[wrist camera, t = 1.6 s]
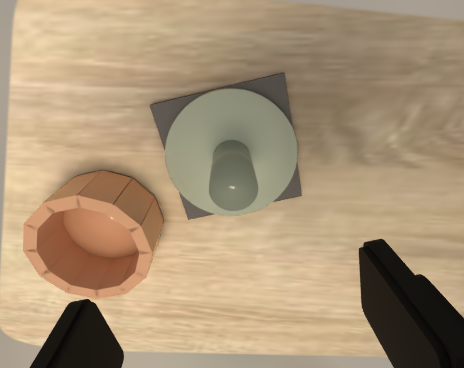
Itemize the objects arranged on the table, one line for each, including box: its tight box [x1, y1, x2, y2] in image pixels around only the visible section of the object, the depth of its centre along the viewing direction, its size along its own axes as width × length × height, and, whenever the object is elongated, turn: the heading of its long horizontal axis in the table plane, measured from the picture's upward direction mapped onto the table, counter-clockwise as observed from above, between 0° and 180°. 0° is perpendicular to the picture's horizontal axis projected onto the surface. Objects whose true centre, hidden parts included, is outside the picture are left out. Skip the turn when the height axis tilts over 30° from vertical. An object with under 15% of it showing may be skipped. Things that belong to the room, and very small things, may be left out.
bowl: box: [23, 170, 164, 299], centre depth 26 cm, size 10×10×5 cm
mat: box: [150, 73, 302, 220], centre depth 25 cm, size 11×11×1 cm
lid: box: [165, 88, 298, 216], centre depth 22 cm, size 11×11×7 cm
